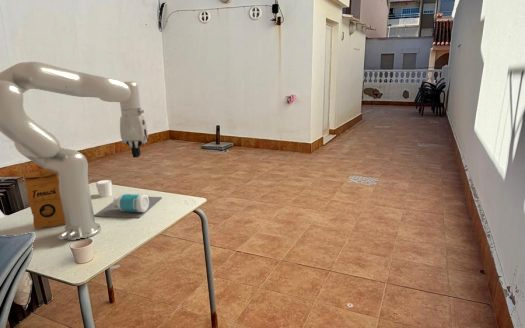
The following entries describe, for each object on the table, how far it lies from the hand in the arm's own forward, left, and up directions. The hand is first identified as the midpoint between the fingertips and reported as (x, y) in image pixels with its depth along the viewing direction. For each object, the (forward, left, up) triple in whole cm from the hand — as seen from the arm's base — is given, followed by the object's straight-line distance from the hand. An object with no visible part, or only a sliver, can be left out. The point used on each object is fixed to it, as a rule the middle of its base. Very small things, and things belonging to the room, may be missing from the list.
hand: (136, 156), depth 143 cm
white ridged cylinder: (+13, +26, -23) cm, 37 cm away
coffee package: (-19, +29, -23) cm, 41 cm away
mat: (0, +6, -23) cm, 24 cm away
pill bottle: (-6, -5, -19) cm, 20 cm away
